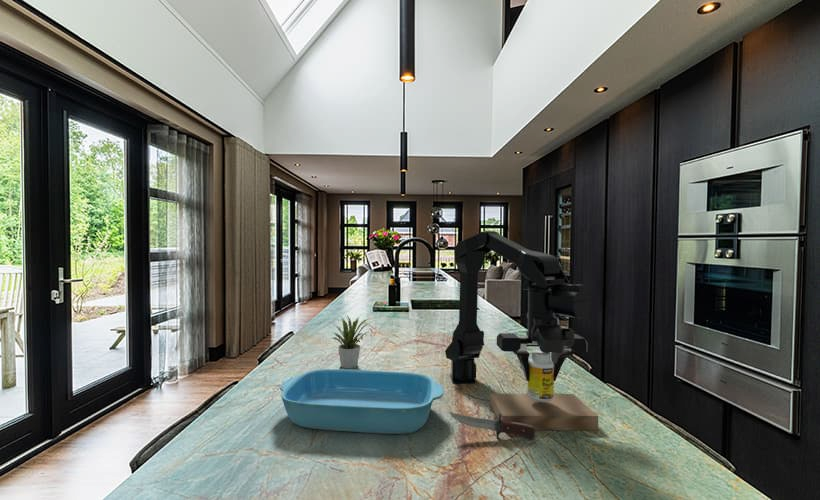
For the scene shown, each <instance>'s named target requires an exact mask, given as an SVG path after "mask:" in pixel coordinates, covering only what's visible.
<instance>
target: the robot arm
mask: <svg viewBox="0 0 820 500" xmlns="http://www.w3.org/2000/svg"><path fill="white" fill-rule="evenodd" d="M491 252H494V253H496V254H497V255H499V256H500V257H502V258H504V259H505V260H507V261H509V262H511V263H512V264H514V265H515V266H516V267H517V269H518V271H519V273H521V275H523V276H524V277H525V278H526V281H525V282H524V283H523V284H522V285H520V289H521V290H525V291H527V297H528V298H527V301H528V302H527V308H528V309H527V313H526V319H527V330H526V332H525V334H526V337H519V336H518V335H517V334H516V333H513V332H512V333H511V332H507V333H503V332H499V333H498V335H497V336H496V346H497V347H498V349H499V350H501V351H502V352H508V353H509V352H512V353H513V354H514V355H516V357H517V359H518V361H519V364H520V366H521V370H522V372H523V375H524V378H525V380H526V381H527V382H528V381H529V359H530V352H528V351H527V348H528V347H538V348H539V350H541V351H542V352H543V353H550V357H551V358H550V361H552V362H553V363H554V382H556V380H557V377H558V376H559V372H560V371H561V368H562V366H563V364H564V362H565V361H566V359H567V358H568V357H571V356H574V355H575V353H588V350H589V344H588V342H587V339H585V337H583V336H581V335H579V334H577V333H575V330H573V328H571V327H569V328H568V327H566V328H565V327H563V328H559V325H558V318H557V317H556V315H559V316H565V317H570V318H575V319H579V320H584V319H585V318H586V317H587V316H589V313H590V311H591V306H592V301H591V300H590V299H591V298H590V296H589V294H588V292H587V291H586V290H585V285H584V284H580V283H579V284H572V283H571V282H570V280H569V278H568V277H567V275H566V274H565V272H564V270H563V268H562V267H561V264H560V260H559V258H557V256H556V255H552V254H549V253H545V252H540V251H536V250H531V249H528V248H527V247H524V246H522V245H520V244H519V243H516V242H515V241H512V240H511V239H509V238H507V237H504V236H503V235H501V234H500V233H499V232H497V231H495V230H483V231H480V232H479V233H477V234H475V235H473V236H470V237H468V238H466V239H463V240H460V241H458V242H457V244H455V246H454V251H453V254H454V263H455V265H456V267H457V269H458V270H459V272H460V273H459V275H460V276H459V278H460V280H459V304H458V305H459V309H458V310H459V311H458V312H459V313H458V315H459V316H458V323H457V325H456V327H455V329H454V331H453V333H452V338H451V343H450V344H449V345H448V346H447V347H446V348H445V350H444V355H445V358H446V359H447V360H450V374H449V376H450V380H451V382H452V383H453V384H476V379H477V364H476V361H475V359H479V358H480V356H481V352H482V350H483V347H484V346H485V341H484V339H485V332H484V331H483V330H481V329H480V327H479V325H478V298H479V296H478V294H479V292H478V290H479V289H478V288H479V273H480V271H481V269H482V268H483V266H484V264H485V258H486V255H488V254H490V253H491Z"/></svg>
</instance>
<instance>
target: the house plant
mask: <svg viewBox="0 0 820 500" xmlns="http://www.w3.org/2000/svg"><path fill="white" fill-rule="evenodd" d="M345 316H346V319H347V321H346V320H345V319H344V318H343V317H341V322H342V328H343V330H342V329H341V327H340V326H338V325H336V324H335V323H334V322H331V321H328V322H329V323H331V324H333V325H334V326H335V327H336V328H337V329H338V331H339V333H340V334H341V335H342V336H341V335H340V334H338V333H337V332H335V331H334V332H332V333H333V334H334V335H335V336H336V337H331V338H330V339H332V340H336V341H338V342H339V343H340V345H337V346H338V347H337V348H338V356H339V361H340V366H341V368H342V367H344V368H343V369H353V367H355V368H357V367H358V364H359V358H360V352H361V345H360V344H358V343H361V340H363V339H364V336H367V333H369V331H367V332H364V333H361V332H362V330H363V329H364V328H365V327H366V326H368V325H369V323H366V321H368V320H372V319H373V318H372V317H370V318H366V319H364V320H363V321H361V322H360V323H359V319H360V316H358V317H357V318H356V319H354V321H353V322H352V320H351V318H350V317H349V316H348V315H347V314H345ZM347 322H348V323H347ZM358 323H359V325H358ZM362 325H363V326H362ZM361 326H362V327H361ZM360 327H361V328H360ZM359 329H360V330H359ZM358 330H359V331H358ZM356 366H357V367H356Z"/></svg>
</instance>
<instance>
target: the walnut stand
mask: <svg viewBox="0 0 820 500" xmlns="http://www.w3.org/2000/svg"><path fill="white" fill-rule="evenodd" d="M489 407H490V409H491V411H492V412H493V414H494V416H495V418H496V419H497V417H498V414H501V415H502V416H501V420H503V421H511V422H518V423H524V424H529V425H532V426H533V427H534V429H535V431H599V414H597V413H596V412H594V410H592V408H590V407H589V406H588V405H586V403H584V402H583V401H582V400H581V399H580V398H579V397H578V396H576V395H575V394H574V393H553V399H552V400H551V401H547V402H541V401H536V400H533V399H531V398H530V397H529V396H528V394H527V393H510V392H509V393H508V392H507V393H504V392H503V393H501V392H500V393H492V392H491V393H489Z"/></svg>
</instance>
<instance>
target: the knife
mask: <svg viewBox="0 0 820 500" xmlns="http://www.w3.org/2000/svg"><path fill="white" fill-rule="evenodd" d="M448 413H449V414H450V417H452V418H453V419H454V420H456V421H457V422H459V423H461V424H463V425H466V426H469V427H473V428H477V429H478V428H479V429H482V430H491V431H495V436H496V439H499V438H500V437H499V435H500V434H503V433H504V434H507V435H512V434H513V435H514V436H522V437H525V438H527V439H529V440H533V439H534V438H535V435H536V430H535V429H534V427H533V426H532V425H529V424H524V423H518V422H511V421H503V420H501V416H502V415H501V414H498V417H497V418H496V419H491V418H490V419H489V418H483V417H476V416H470V415H469V416H468V415H464V414H459V413H454V412H451V411H448Z"/></svg>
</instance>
